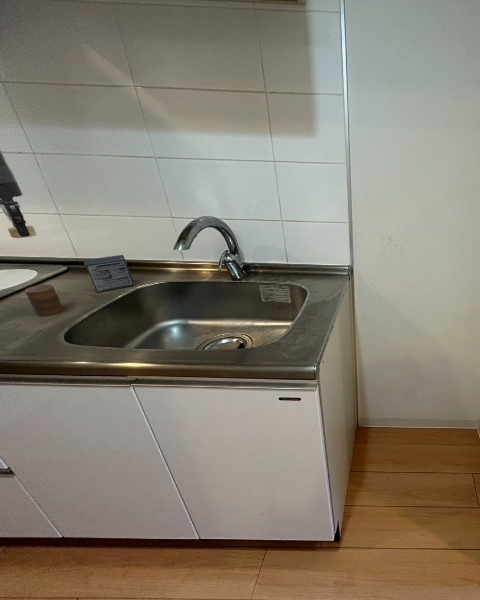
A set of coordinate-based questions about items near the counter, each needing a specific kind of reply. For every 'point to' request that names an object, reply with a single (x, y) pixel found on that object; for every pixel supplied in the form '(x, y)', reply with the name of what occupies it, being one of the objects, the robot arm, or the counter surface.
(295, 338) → the counter surface
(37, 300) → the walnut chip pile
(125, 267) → the small box
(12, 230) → the beige short cylinder
